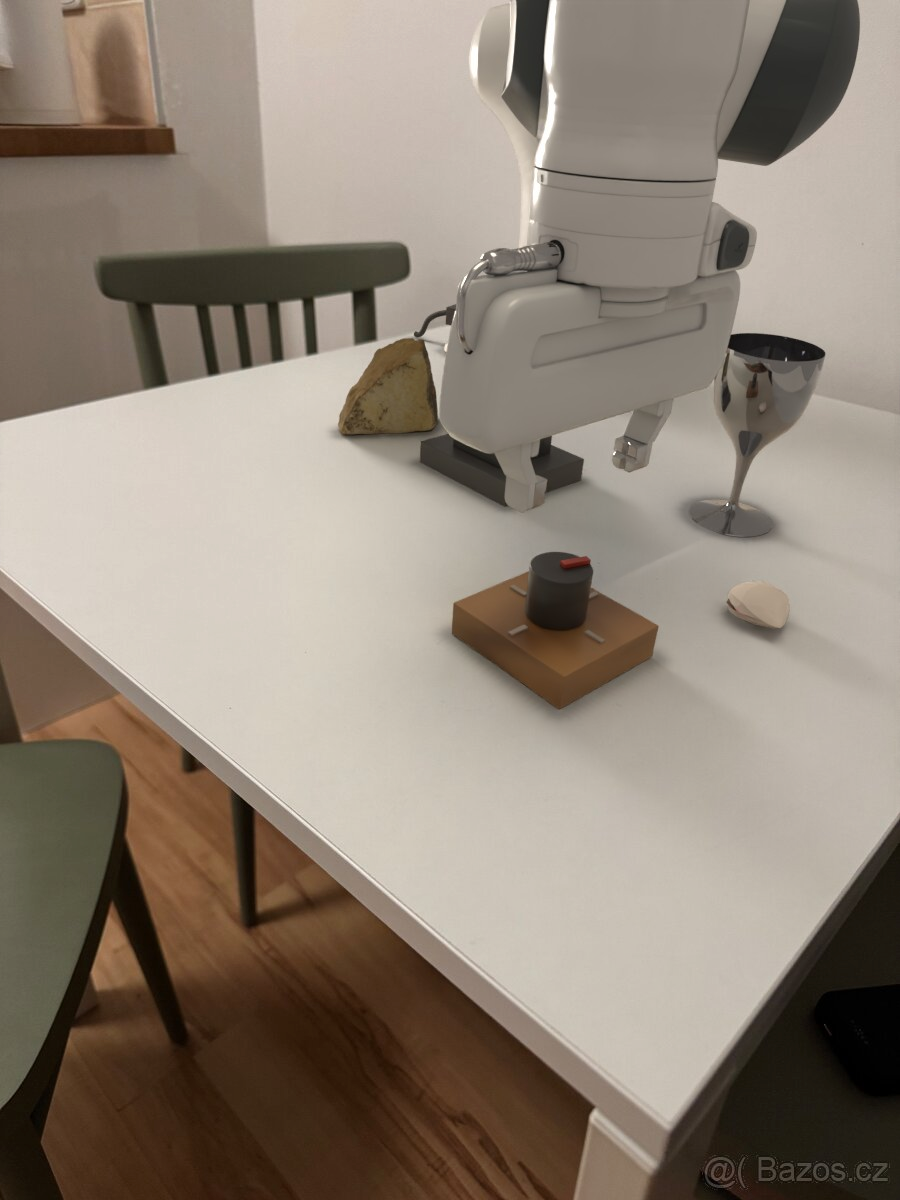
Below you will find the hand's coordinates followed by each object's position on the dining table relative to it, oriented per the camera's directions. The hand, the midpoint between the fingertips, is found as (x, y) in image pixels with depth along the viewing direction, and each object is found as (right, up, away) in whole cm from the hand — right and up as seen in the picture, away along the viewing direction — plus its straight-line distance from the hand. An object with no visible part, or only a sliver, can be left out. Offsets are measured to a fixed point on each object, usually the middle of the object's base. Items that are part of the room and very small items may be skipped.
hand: (579, 485), depth 50 cm
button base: (-3, +5, +30) cm, 31 cm away
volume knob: (-1, -8, +5) cm, 9 cm away
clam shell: (+14, -9, +10) cm, 19 cm away
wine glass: (+17, 0, +24) cm, 29 cm away
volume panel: (-1, -10, +6) cm, 12 cm away
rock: (-14, +11, +39) cm, 43 cm away
